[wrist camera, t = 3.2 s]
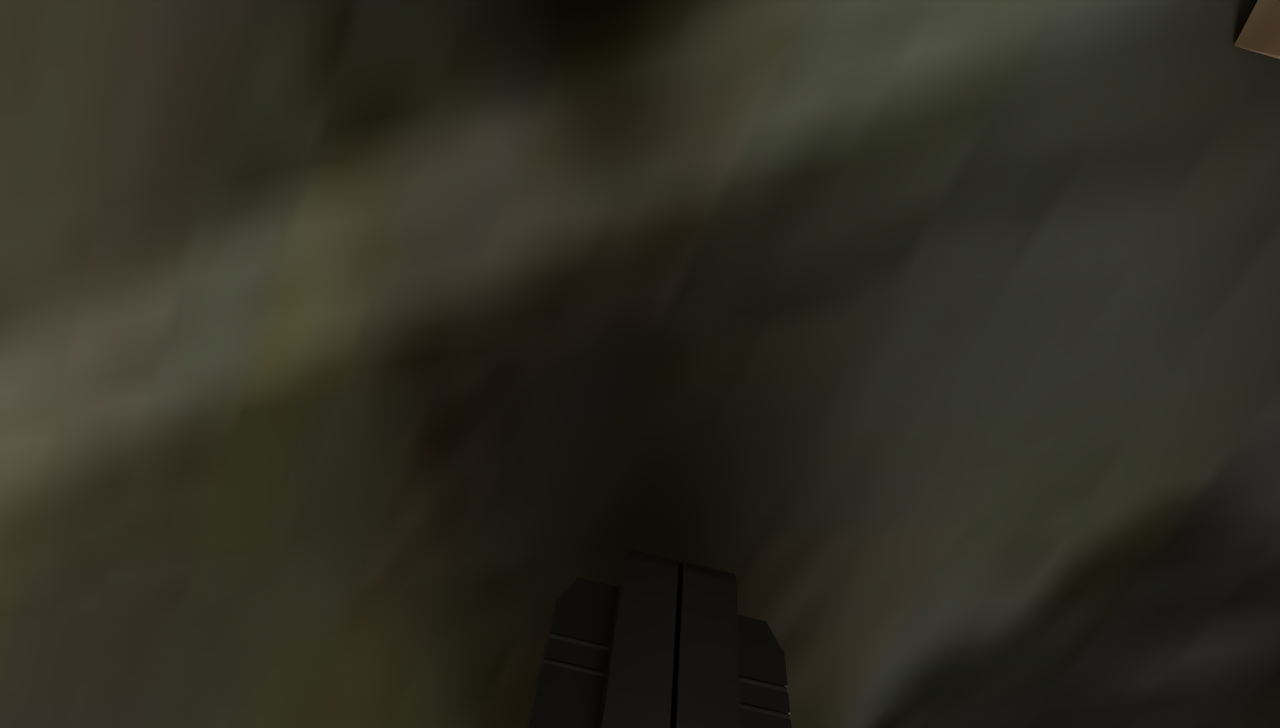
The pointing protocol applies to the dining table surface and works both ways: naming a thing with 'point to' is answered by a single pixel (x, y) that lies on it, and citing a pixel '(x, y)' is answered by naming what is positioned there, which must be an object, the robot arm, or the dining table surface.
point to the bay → (1262, 29)
